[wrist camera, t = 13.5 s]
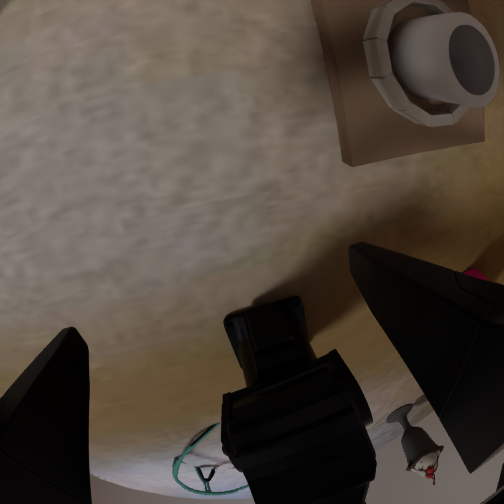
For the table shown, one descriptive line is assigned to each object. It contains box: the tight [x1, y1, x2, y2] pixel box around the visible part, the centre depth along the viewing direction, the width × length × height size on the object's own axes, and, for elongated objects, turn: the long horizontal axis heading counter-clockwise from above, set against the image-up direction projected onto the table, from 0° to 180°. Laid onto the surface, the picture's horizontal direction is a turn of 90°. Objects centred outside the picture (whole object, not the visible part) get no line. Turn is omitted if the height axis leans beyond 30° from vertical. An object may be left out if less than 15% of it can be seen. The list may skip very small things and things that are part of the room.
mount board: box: [311, 0, 485, 167], centre depth 16 cm, size 14×14×3 cm
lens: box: [388, 12, 500, 108], centre depth 14 cm, size 6×6×5 cm
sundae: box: [387, 404, 444, 485], centre depth 36 cm, size 7×7×15 cm
